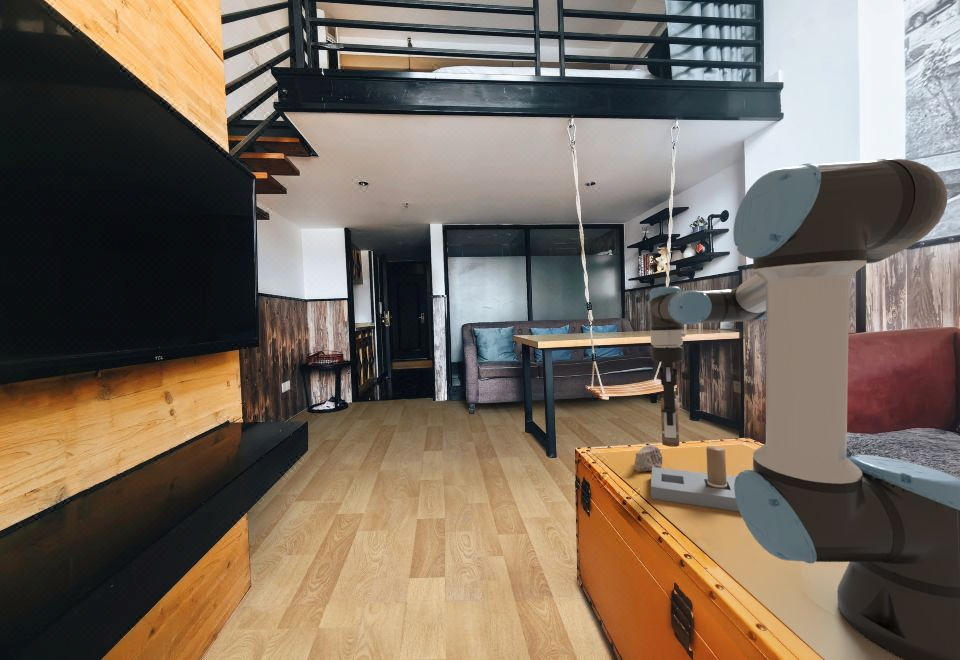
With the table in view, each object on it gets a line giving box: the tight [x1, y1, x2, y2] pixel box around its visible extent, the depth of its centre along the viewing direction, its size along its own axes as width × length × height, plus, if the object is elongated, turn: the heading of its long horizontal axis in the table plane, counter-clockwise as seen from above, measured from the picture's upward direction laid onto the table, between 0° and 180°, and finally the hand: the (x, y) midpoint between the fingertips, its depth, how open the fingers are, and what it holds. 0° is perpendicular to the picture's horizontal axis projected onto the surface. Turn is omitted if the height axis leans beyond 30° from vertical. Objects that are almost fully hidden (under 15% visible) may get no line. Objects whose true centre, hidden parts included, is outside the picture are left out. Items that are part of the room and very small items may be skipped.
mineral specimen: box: [633, 444, 664, 473], centre depth 114 cm, size 13×7×6 cm, turn 145°
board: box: [650, 445, 740, 513], centre depth 96 cm, size 14×20×12 cm
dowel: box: [660, 397, 680, 448], centre depth 98 cm, size 4×4×12 cm
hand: (670, 434), depth 98 cm, fingers closed on dowel, 4 cm apart
